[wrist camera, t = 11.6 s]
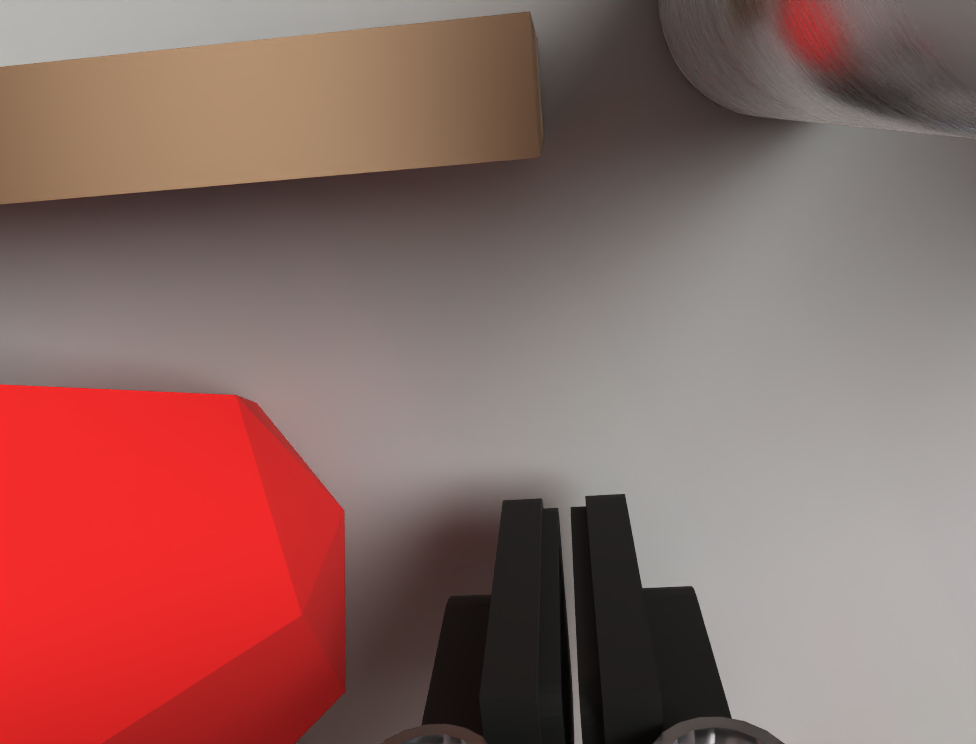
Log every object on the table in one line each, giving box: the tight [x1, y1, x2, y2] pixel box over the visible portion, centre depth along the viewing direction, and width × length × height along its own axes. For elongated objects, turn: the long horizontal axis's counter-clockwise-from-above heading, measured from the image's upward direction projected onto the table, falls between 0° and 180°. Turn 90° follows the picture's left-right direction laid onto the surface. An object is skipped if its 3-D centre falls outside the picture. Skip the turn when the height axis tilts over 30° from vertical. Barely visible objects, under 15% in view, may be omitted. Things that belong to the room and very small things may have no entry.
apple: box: [0, 385, 346, 744], centre depth 10 cm, size 7×7×8 cm
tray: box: [0, 12, 544, 204], centre depth 11 cm, size 13×14×4 cm
